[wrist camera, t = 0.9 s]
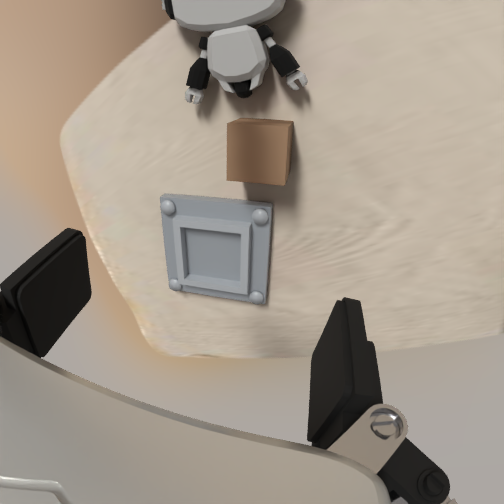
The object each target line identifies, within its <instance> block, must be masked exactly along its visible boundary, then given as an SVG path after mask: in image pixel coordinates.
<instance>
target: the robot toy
mask: <svg viewBox="0 0 504 504" xmlns="http://www.w3.org/2000/svg"><path fill="white" fill-rule="evenodd" d="M285 1H286V0H162V3H163V4H162V8H163V10H165V9H166V12H167V14H168V15H169V17H170V18H171V19H174V20H176V21H177V22H178V23H179V25H180V26H182V27H184V28H187V29H190V30H195V31H200V32H213V33H212V34H211V35H210V37H209V38H206V37H201V40H200V43H199V48H200V49H202V51H201V55H200V58H199V59H198V60H197V61H196V62H195V63H194V64H193V65H192V67H191V68H190V71H189V75H188V79H187V83H186V85H187V86H190V87H189V88H188V90H187V91H186V92H185V99H186V100H187V102H190V103H191V102H192V99H193V95H195V99H194V104H199V103H201V101H202V99H203V97H204V95H203V90H202V89H206V88H207V85H208V81H209V77H210V74H212V76H213V77H215V78H216V79H217V80H218V81H219V82H220V84H221V86H222V87H223V89H224V90H225V91H229V92H232V93H235V92H236V94H237V95H238V96H239V97H241V98H247V97H249V96H251V94H252V89H255V88H256V87H258V86H259V85H261V84H262V81H263V77H264V72H265V71H266V70H267V68H268V66H269V60H270V58H271V63H272V64H273V65H274V67H275V68H276V70H277V71H278V73H279V74H280V75H281V77H283V76H285V75H286V82H287V85H288V86H289V87H290V88H291V89H292V90H298V89H300V88H299V87H298V86H297V84H296V83H295V82H294V80H296V79H299V81H300V82H301V84H302V87H303V86H305V85H306V84H307V82H308V81H307V78H306V75H305V74H304V73H302V72H300V71H299V70H296V69H298V68H299V67H300V66H299V64H298V63H297V61H296V60H295V58H294V57H293V56H292V54H291V53H290V51H288V50H287V49H285V48H283V47H281V46H279V45H277V44H276V43H275V41H274V40H273V39H272V36H273V32H272V31H271V29H270V28H269V27H268V26H267V25H263V26H261V27H259V28H258V29H254V28H252V27H250V26H254V25H257V24H260V23H262V22H264V21H267V20H269V19H271V18H273V17H274V16H276V15H277V14H278V13H279V12H280V11H282V10H283V7H284V4H285ZM265 43H266V45H267V46H268V47H269V52H270V58H269V55H268V51H267V48H266V45H265ZM250 79H252V82H251V80H250Z"/></svg>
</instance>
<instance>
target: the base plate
mask: <svg viewBox="0 0 504 504" xmlns="http://www.w3.org/2000/svg"><path fill="white" fill-rule="evenodd" d="M160 203H161V206H160V208H161V214H162V225H163V236H164V245H165V254H166V263H167V271H168V279H169V287H170V289H172V290H174V291H179V290H180V291H186V292H192V293H197V294H203V295H209V296H216V297H222V298H228V299H235V300H241V301H248V302H252V303H254V304H260V303H261V304H265V302H266V298H267V285H268V271H269V256H270V240H271V225H272V208H273V203H268V202H258V201H248V200H238V199H227V198H216V197H204V196H191V195H178V194H164V195H162V196H161V197H160Z"/></svg>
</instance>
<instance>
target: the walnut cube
mask: <svg viewBox="0 0 504 504" xmlns="http://www.w3.org/2000/svg"><path fill="white" fill-rule="evenodd" d="M292 134H293V121H284V120H271V119H253V118H240V119H237V120H235V121H232V122H230V123H227V181H239V182H251V183H262V184H272V185H282V186H285V183H286V181H287V178H288V175H289V173H290V164H291V150H292Z"/></svg>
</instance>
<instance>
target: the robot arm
mask: <svg viewBox="0 0 504 504" xmlns="http://www.w3.org/2000/svg"><path fill="white" fill-rule="evenodd" d="M86 250H87V249H86V239H85V237H84V236H83V234H82V232H81V231H78V230H75V229H71V228H67V229H65V230H64V231H63V232H61V233H60V234H59V235H58V236H56V237H55V238H54V239H52V240H51V241H50V242H49V243H48V244H46V245H45V246H44V247H43V248H41V249H40V250H39V251H38V252H36V253H35V254H34V255H33V256H32V257H30V258H29V259H28V260H27V261H26V262H25V263H24V264H22V265H21V266H20V267H19V268H18V269H17V270H15V271H14V272H13V273H12V274H11V275H10V276H9V277H8V278H6V279H5V280H4V281H3V282H2V283H1V284H0V288H1V292H0V504H457V502H456V501H455V499H452V500H450V498H449V497H448V494H449V490H450V484H449V479H448V477H447V475H446V474H445V473H444V471H443V470H442V469H440V468H439V467H438V466H437V465H436V464H435V463H434V462H432V461H431V460H430V459H429V458H428V457H427V456H426V455H425V454H424V453H423V452H421V451H420V450H419V449H418V448H417V447H416V446H415V445H414V444H413V443H412V442H410V441H409V440H408V439H407V438H406V435H407V431H408V425H407V421H406V419H405V417H404V415H403V414H402V413H401V412H400V411H399V410H398V409H397V408H395V407H393V406H391V405H387V404H383V399H382V392H381V385H380V378H379V371H378V365H377V358H376V352H375V346H374V343H373V342H371V341H367V337H366V331H365V325H364V319H363V313H362V307H361V302H360V301H359V300H354V299H350V298H346V297H344V298H343V299H342V301H340V300H337V301H336V303H335V306H334V308H333V310H332V312H331V315H330V317H329V319H328V322H327V324H326V326H325V328H324V331H323V333H322V335H321V337H320V339H319V342H318V344H317V346H316V348H315V350H314V352H313V355H312V360H311V380H310V400H309V418H308V433H307V440H308V441H310V442H312V446H309V445H304V444H299V443H295V442H290V441H285V440H280V439H275V438H270V437H265V436H260V435H256V434H252V433H248V432H243V431H239V430H235V429H231V428H227V427H223V426H219V425H215V424H211V423H207V422H204V421H200V420H197V419H193V418H190V417H187V416H183V415H180V414H177V413H173V412H170V411H167V410H164V409H161V408H158V407H155V406H152V405H150V404H146V403H144V402H141V401H138V400H135V399H133V398H130V397H127V396H125V395H122V394H120V393H117V392H114V391H112V390H109V389H107V388H104V387H102V386H100V385H97V384H95V383H93V382H90V381H88V380H85V379H83V378H81V377H79V376H77V375H75V374H72V373H70V372H68V371H66V370H64V369H62V368H59V367H57V366H55V365H53V364H51V363H49V362H47V361H45V360H43V359H41V357H44V356H45V355H46V354H47V353H48V352H49V350H50V349H51V348H52V346H53V345H54V344H55V342H56V341H57V340H58V339H59V337H60V336H61V335H62V334H63V332H64V331H65V330H66V328H67V327H68V326H69V325H70V323H71V322H72V321H73V320H74V318H75V317H76V316H77V314H78V313H79V312H80V311H81V310H82V308H83V307H84V306H85V305H86V304H87V303H88V301H89V300H90V298H91V284H90V277H89V268H88V260H87V251H86Z"/></svg>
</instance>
